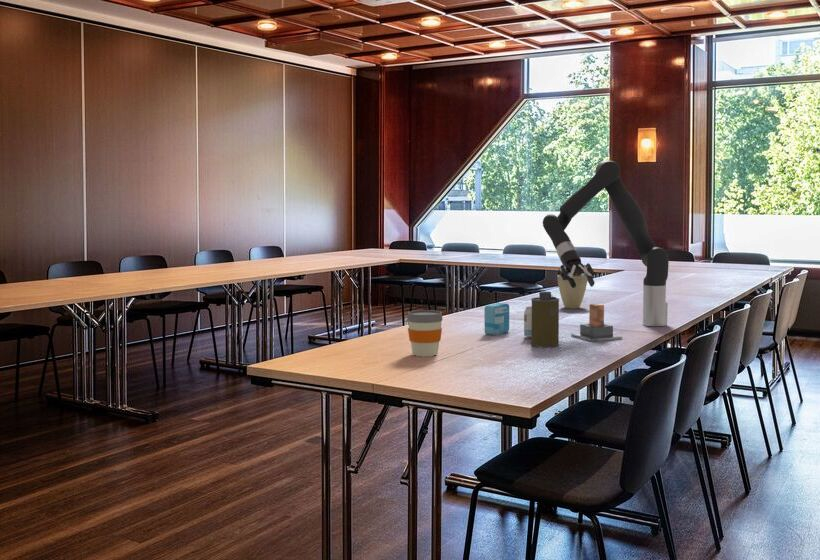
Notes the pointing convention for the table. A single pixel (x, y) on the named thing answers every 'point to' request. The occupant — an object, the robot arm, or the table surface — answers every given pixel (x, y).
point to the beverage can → (528, 322)
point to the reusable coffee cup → (424, 331)
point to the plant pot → (572, 291)
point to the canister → (545, 320)
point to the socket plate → (596, 333)
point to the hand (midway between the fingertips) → (583, 286)
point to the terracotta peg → (596, 315)
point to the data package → (496, 318)
